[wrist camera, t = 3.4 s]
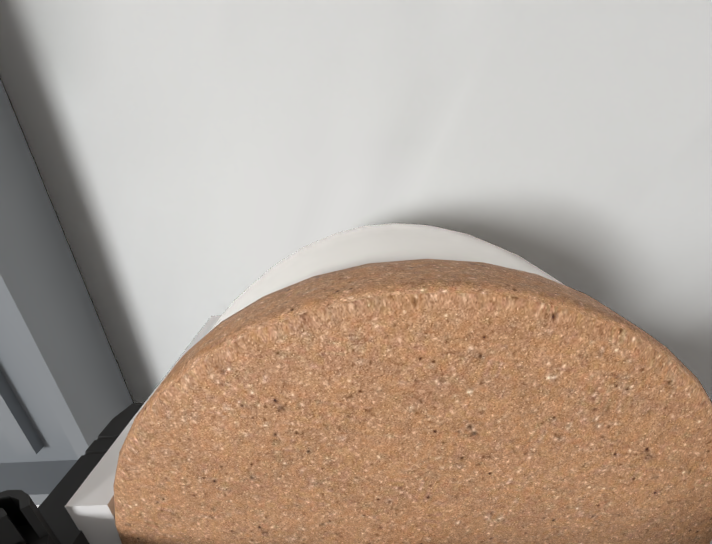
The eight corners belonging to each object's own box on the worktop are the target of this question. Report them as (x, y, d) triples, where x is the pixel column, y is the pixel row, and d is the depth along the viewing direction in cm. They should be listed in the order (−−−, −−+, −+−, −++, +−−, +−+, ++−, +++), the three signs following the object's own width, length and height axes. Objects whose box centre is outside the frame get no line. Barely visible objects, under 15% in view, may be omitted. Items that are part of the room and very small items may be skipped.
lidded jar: (476, 438, 16) (627, 823, 7) (242, 413, 15) (87, 800, 6) (566, 211, 11) (1216, 460, 3) (248, 162, 11) (-176, 292, 2)
